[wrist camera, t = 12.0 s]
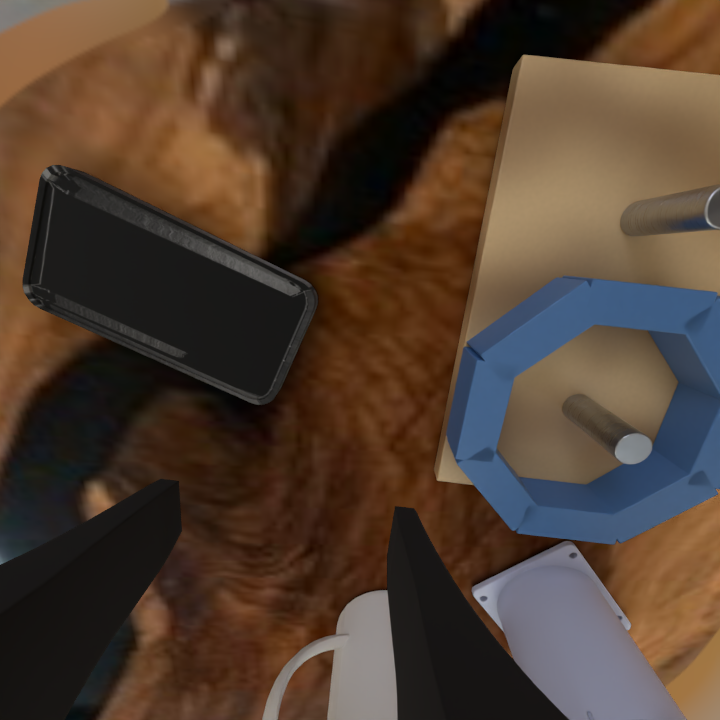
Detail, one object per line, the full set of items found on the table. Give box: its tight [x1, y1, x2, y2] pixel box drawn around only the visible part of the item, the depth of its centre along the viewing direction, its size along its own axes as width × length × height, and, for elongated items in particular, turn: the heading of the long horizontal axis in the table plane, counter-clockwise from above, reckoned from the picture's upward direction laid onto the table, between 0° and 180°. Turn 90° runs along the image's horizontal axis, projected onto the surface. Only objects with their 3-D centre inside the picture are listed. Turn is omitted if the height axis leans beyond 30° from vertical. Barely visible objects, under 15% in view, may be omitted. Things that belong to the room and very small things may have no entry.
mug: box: [262, 590, 398, 720], centre depth 21 cm, size 12×8×10 cm, turn 55°
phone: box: [23, 165, 318, 405], centre depth 19 cm, size 8×1×15 cm
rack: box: [434, 55, 720, 485], centre depth 16 cm, size 22×14×6 cm, turn 174°
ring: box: [446, 275, 720, 545], centre depth 18 cm, size 14×14×3 cm
